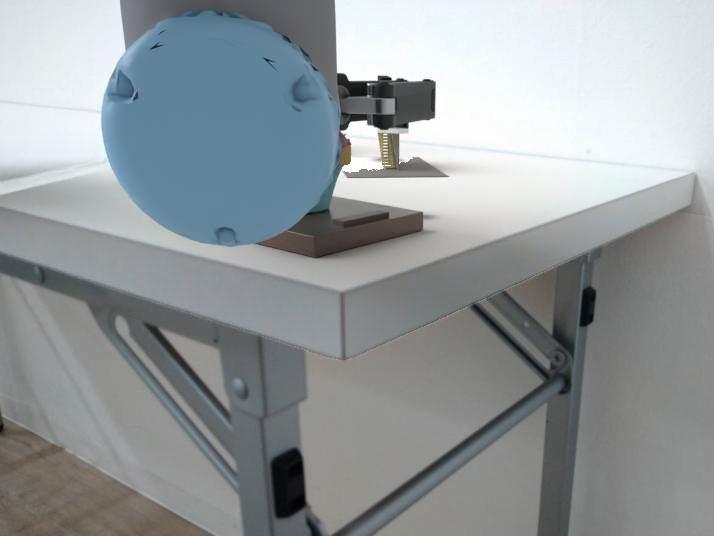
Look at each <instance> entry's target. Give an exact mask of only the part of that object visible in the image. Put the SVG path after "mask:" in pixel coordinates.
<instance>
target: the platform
mask: <svg viewBox="0 0 714 536" xmlns="http://www.w3.org/2000/svg"><path fill="white" fill-rule="evenodd" d="M367 129H369V130H371V131H372V132H374V133H377V137H378V144H379V151H380V157H381V158H382V165H384V166H383V167H384V168H383V169H380V170H377V169H376V170H377V171H376V170H375V169H372V170H373V171H372V170H369V171H368V170H367V169H361V170H359V172H351V173H349V172H345V171H344V172H343V174H344V175H345V176H346V178H423V177H426V178H427V177H428V178H430V177H438V178H439V177H449V175H448V174H446V173H445V172H443V171H441V170H440V169H438V168H437V167H435V166H434V165H432V164H430V163H429V162H428V161H426V160H424V159H423V158H421V157H419V156H411V157H412V158H413V159H410V160H409V161H408V162H406V163H405V162H401V163H400V164H399V157H400V134H407V135H408V134H409V128H397V127H394V128H389V129H388V130H380V129H378V128H376V127H374V126H369V125H367ZM384 159H388V160H384ZM383 162H384V163H383ZM385 162H388V163H385ZM385 165H391V166H385Z"/></svg>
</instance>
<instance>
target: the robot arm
mask: <svg viewBox="0 0 714 536" xmlns="http://www.w3.org/2000/svg"><path fill="white" fill-rule="evenodd" d="M119 7H120V16H121V24H122V32H123V40H124V49H125V51H124V52H123V53H122V55H121V57H120V58H119V59H118V60H117V62H116V65H115V67H114V69H113V71H112V73H111V75H110V77H109V79H108V82H107V85H106V88H105V91H104V94H103V98H102V103H101V104H102V105H101V116H100V120H101V121H100V125H101V126H100V127H101V136H102V141H103V142H102V143H103V147H104V151H105V154H106V157H107V160H108V163H109V165H110V168H111V171H112V172H113V174H114V176H115V179H116V180H117V182H118V183H119V185H120V187H121V188H122V189H123V191H124V192H125V194H126V195H127V196H128V198H129V199H130V200H131V201H132V202H133V203H134V204H135V205H136V207H137V208H139V210H141V211H142V212H143V213H144V214H145V215H146V216H148V217H149V218H150V219H151V220H152V221H153V222H155V223H157V224H158V225H159V226H161V227H163V228H164V229H166V230H168V231H170V232H171V233H173V234H176V235H178V236H181V237H183V238H185V239H188V240H190V241H194V242H196V243H200V244H207V245H212V246H222V247H228V248H234V247H237V246H246V245H251V244H257V242H261V241H264V240H267V239H269V238H272V237H275V236H277V235H278V234H280V233H282V232H284V231H286V230H288V229H289V228H291V227H292V226H293V225H295V224H296V223H297V222H298V221H300V220H301V219H302V218H303V217H304V216H305V215H306V214H307V213H308V212H309V211H310V210H311V209H312V208H313V207H314V206H315V205H316V204H317V203H318V202H319V201H320V196H322V195H324V194H326V190H327V187H328V186H329V185H330V183H331V182H332V181H333V175H334V172H335V170H336V169H337V168H338V167H339V163H340V158H341V140H340V137H339V134H340V131H341V132H344V131H347V130H348V129H349V125H350V124H351V123H354V122H365V121H366V126H368V125H369V126H374V127H376V128H378V129H380V130H388V129H389V128H394V127H397V128H408V129H409V127H410V123H416V122H421V121H431V120H433V119H436V102H437V101H436V100H437V99H436V96H437V95H436V94H437V93H436V92H437V81H434V79H431V78H423V79H422V80H412V81H410V80H408V79H405V78H403V77H402V78H401V77H397V78H396V79H395V80H394V79H393V77H391V76H389V75H379V74H378V75H377V80H350V79H349V78H348V76H347V74H346V73H343V72H338V60H337V59H338V58H337V57H338V55H337V54H338V53H337V51H338V50H337V17H336V16H337V15H336V0H119Z"/></svg>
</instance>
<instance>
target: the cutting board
mask: <svg viewBox="0 0 714 536" xmlns="http://www.w3.org/2000/svg"><path fill="white" fill-rule="evenodd" d="M423 230H424V211H420V210H415V209H411V208H410V209H409V208H403V207H398V206H393V205H386V204H381V203H375V202H369V201H363V200H357V199H353V198H346V197H340V196H334V195H332V199H331V203H330V207H329V208H328V209H327V210H324V211H320V212H314V213H307V214H306V215H305V216H304V217H303V218H302V219H301V220H300V221H298V222H297V223H296V224H295V225H293V226H292V227H291V228H289V229H288V230H286V231H284V232H282V233H280V234H278V235H277V236H275V237H272V238H269V239H267V240H264V241H261V242H257V243H256V244H258V245H261V246H266V247H269V248H274V249H278V250H283V251H287V252H290V253H295V254H299V255H303V256H308V257H310V258H311V257H312V258H317V257H323V256H326V255H331V254H334V253H339V252H342V251H346V250H351V249H354V248H358V247H362V246H366V245H370V244H373V243H378V242H381V241H386V240H389V239H393V238H397V237H402V236H405V235H409V234H413V233H417V232H420V231H423Z"/></svg>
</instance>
